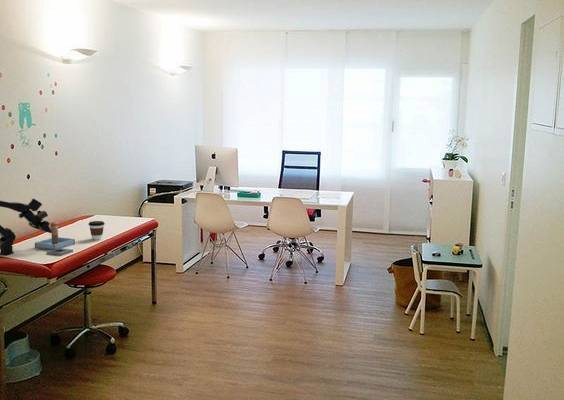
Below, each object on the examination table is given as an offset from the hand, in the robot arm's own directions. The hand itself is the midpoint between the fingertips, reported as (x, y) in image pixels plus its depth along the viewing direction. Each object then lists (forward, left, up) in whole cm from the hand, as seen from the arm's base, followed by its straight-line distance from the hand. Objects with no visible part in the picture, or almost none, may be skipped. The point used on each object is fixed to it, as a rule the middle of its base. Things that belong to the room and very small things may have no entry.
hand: (48, 231), depth 361 cm
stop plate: (-10, -18, -10) cm, 23 cm away
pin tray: (+4, -2, -10) cm, 11 cm away
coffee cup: (+33, -13, -10) cm, 37 cm away
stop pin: (+4, -2, -9) cm, 10 cm away
